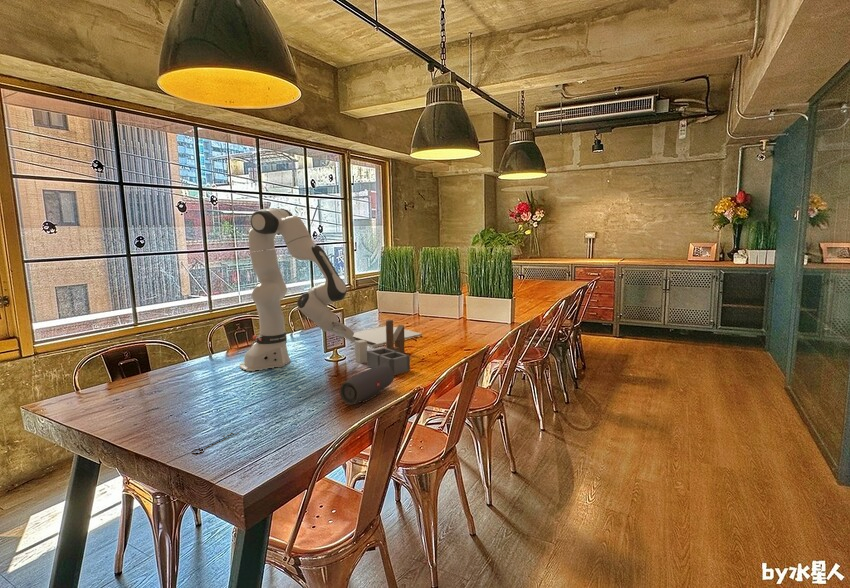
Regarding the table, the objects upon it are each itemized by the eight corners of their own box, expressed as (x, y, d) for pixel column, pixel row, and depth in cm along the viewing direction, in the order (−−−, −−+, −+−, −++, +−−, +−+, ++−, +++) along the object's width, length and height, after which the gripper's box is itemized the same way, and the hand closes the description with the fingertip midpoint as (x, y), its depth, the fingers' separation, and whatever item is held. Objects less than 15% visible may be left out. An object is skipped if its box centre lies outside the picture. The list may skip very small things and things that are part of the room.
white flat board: (372, 344, 238) (340, 334, 260) (372, 349, 238) (340, 338, 261) (421, 333, 261) (388, 325, 284) (421, 337, 261) (388, 329, 284)
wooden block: (404, 352, 228) (404, 317, 225) (390, 357, 220) (389, 321, 217) (399, 351, 230) (398, 316, 228) (384, 356, 222) (383, 320, 219)
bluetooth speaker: (359, 410, 157) (359, 382, 155) (338, 405, 161) (337, 378, 160) (395, 389, 176) (395, 365, 175) (376, 385, 181) (375, 361, 179)
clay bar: (360, 363, 211) (359, 342, 209) (355, 361, 214) (354, 341, 212) (367, 361, 213) (366, 341, 212) (362, 360, 216) (362, 339, 215)
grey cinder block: (391, 376, 193) (391, 360, 192) (367, 366, 206) (366, 351, 205) (409, 370, 199) (409, 355, 198) (385, 361, 213) (384, 347, 212)
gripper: (344, 318, 192) (364, 337, 200) (321, 312, 208) (340, 330, 216) (335, 330, 190) (356, 348, 198) (312, 323, 206) (333, 340, 213)
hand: (348, 338), depth 207 cm, fingers open, 8 cm apart
